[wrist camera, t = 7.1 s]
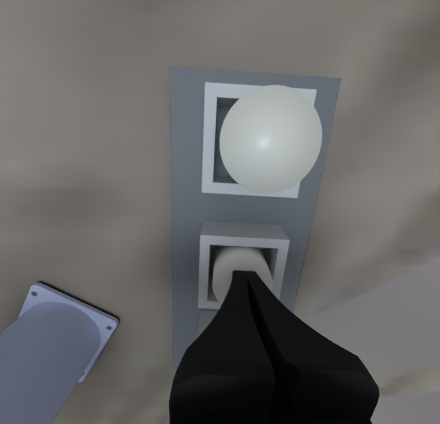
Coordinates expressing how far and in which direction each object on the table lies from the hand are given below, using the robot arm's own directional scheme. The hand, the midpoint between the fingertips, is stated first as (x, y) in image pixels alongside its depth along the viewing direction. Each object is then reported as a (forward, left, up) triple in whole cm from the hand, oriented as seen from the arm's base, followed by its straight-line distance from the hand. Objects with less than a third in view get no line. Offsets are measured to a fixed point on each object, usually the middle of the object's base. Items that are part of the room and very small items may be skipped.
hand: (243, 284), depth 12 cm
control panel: (0, 0, -5) cm, 5 cm away
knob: (+7, +4, -1) cm, 8 cm away
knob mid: (0, 0, -3) cm, 3 cm away
